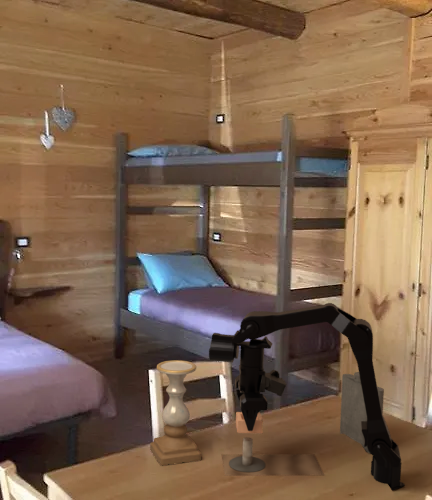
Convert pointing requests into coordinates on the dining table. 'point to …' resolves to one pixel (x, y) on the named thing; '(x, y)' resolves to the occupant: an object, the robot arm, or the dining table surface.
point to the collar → (243, 428)
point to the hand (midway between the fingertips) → (248, 425)
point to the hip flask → (354, 407)
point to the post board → (269, 463)
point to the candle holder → (175, 418)
